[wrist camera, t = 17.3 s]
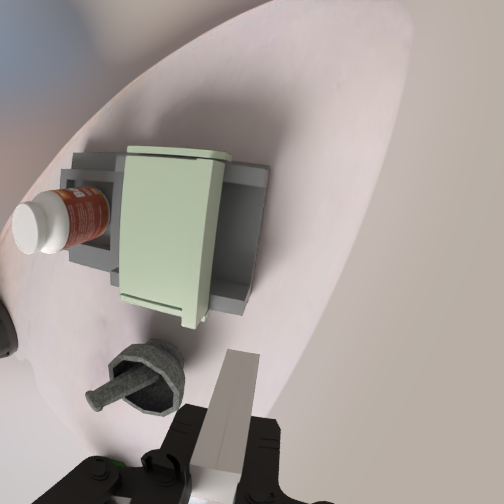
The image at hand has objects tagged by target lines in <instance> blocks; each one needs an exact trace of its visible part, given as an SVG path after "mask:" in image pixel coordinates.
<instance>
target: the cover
mask: <svg viewBox="0 0 504 504" xmlns="http://www.w3.org/2000/svg"><path fill="white" fill-rule="evenodd" d="M127 152H128V153H135V154H142V155H159V156H174V157H187V158H197V160H189V159H177V158H163V157H147V156H126V162H125V170H124V179H123V190H122V202H121V217H120V241H119V289H120V292H121V293H122V294H120V300H121V301H124V302H128V303H131V304H135V305H138V306H142V307H146V308H149V309H153V310H157V311H161V312H164V313H168V314H172V315H176V316H181V317H182V322H181V326H183V327H187V328H191V329H196V328H197V326H198V324H199V323H200V321H202V322H205V321H206V319H207V317H208V316H209V314H210V312H211V311H212V310H211V309H208V301H209V291H210V281H211V272H212V263H213V254H214V245H215V237H216V229H217V221H218V213H219V205H220V198H221V190H222V183H223V176H224V169H225V163H222V162H218V161H227V162H231V160H232V155H230V154H228V153H226V152H221V151H211V150H200V149H188V148H173V147H153V146H128V147H127ZM215 160H218V161H215Z"/></svg>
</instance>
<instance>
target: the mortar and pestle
mask: <svg viewBox="0 0 504 504" xmlns="http://www.w3.org/2000/svg"><path fill="white" fill-rule="evenodd" d="M183 364H184V359H183V357H182V355H181V354H180V352H179V350H178V349H177V348H176V347H175V346H173V345H172V344H170V343H168V342H167V341H165V340H157V339H151V340H150V341H149V342H148V343H147V344H132V345H130V346H129V347H127V348H126V349H124V350H123V351H122V352H121V353H120V354H119V355H118V356H117V357H116V358H114V359H113V360H112V361H111V362H110V364H109V365H108V368H109V377H110V381H109V382H108V383H106V384H104V385H103V386H101V387H99V388H98V389H96V390H94V391H88V392H86V393H85V396H86V399H87V401H88V403H89V405H90V406H91V407H92V409H93V410H94V411H96V412H99V411H101V410H102V409H103V407H104V406H106V405H108V404H111V403H113V402H115V401H117V400H119V399H121V398H122V399H123V400H124V401H125V402H127V403H128V404H130V405H131V406H133V407H134V408H136V409H137V410H139V411H141V412H142V413H145V414H151V415H156V416H162V417H164V416H166V415H168V414H170V413H172V412H174V411H176V410H178V409H179V407H180V405H181V403H182V399H183V394H184V385H185V375H184V371H183Z"/></svg>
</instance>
